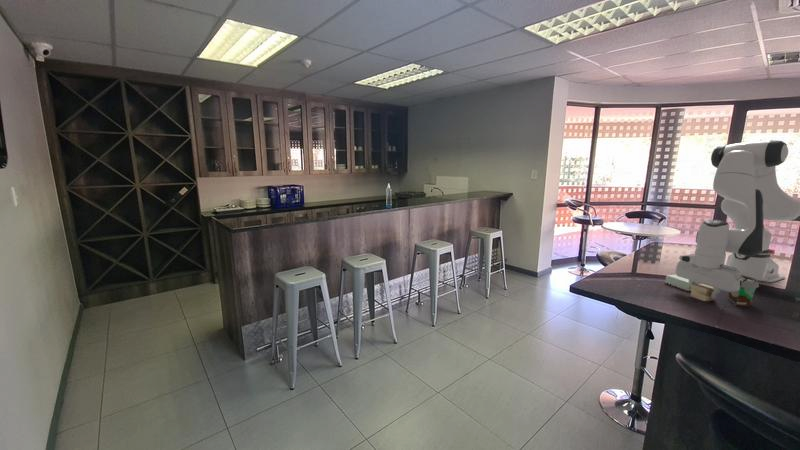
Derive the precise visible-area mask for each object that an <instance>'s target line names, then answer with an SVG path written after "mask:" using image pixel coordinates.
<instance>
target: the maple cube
mask: <svg viewBox="0 0 800 450" xmlns="http://www.w3.org/2000/svg"><path fill="white" fill-rule="evenodd" d="M713 291H715V290H713V287H711V286H708V285H704V284H695V285H692V290H691V291H690V297H691V298H694V299H697V300H700V301H703V302H710V301H715V299H716V298H711V297H709V293H712V292H713Z"/></svg>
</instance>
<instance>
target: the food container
mask: <svg viewBox="0 0 800 450" xmlns="http://www.w3.org/2000/svg"><path fill="white" fill-rule="evenodd" d="M759 282H760V281H759V280H757V279H755V278H752V277H749V276H745V275H741V276H740V288H739V290H738V291H737V292H727V298H728V299H729V300H730V302H731V303H733V305H735V306H736V307H746V308H747V307H750V306H751V304H752V301H753V298H754V295H755V292H756V289H758V288H759V287H760V285H759V284H760V283H759Z"/></svg>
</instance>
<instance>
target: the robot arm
mask: <svg viewBox="0 0 800 450" xmlns="http://www.w3.org/2000/svg"><path fill="white" fill-rule="evenodd" d="M788 155H789V148H788V145H787V143H786V142H784V141H782V140H775V139H773V140H772V139H771V140H757V141H756V140H755V141H754V140H753V141H746V142H738V143H731V144H723V145H718V146H716V148H715V149H713V151H712V153H711V157H710V161H711V162H710V163H711V165H712V166H713V167H714V168H716V172H715V174H714V177H713V184H712V188H713V190H714V192H715V193H716V194H717V195H719V196H720V197H722V198H724V199H723V200H722V201H721V203H720V209H721V212H722V213H724V215H726V216H727V217H728V218H729V219H731V221H732V223H733V224H734V227H735V228H734V227H730V224H729V223H728V222H727V221H724V220H720V219H707V220H704V221H702V222H701V225H700V226H699V229H698V230H697V233H696V237H695V243H696V248H695V250H694V252H693V253H692V254H691V253H690V254H683V255H679V257H678V258H679V259H678V260H679V261H678V263H677V265H676V268H675V275H677V276H679V277H682V278H685V279H688V280H689V284H690V286H691V290H692V285H695V283H696V282H698V283H701V284H705V285H708V286H711V287H713V290H715V291H713V292H712V293H709V297H711V298H715V299H716V298H717V294H719V293H720V292H721V291H724V292H727V293H728V292H737V291H738V290H739V288H740V276H741V275H745V276H749V277H752V278H755V279H757V280H758V282H760V281H761V282H765V283H774V282H777V281H780V280H783V279H786V276H785V275H784V274H780V273H779V270H780V268H779V267H780V266H779V264H778V263H777V262H775V261H774V260H773V259H772V258H771V254H775V253H776V250H775V249H771V248H770V244H771V240H772V233H771V231H770V230H769V229H767V228H766V227H765V225H764V224H765V221H764V220H766V221H774V222H777V221H778V222H779V221H781V222H782V221H783V222H784V221H793V220H795V219H797V218H799V217H800V200H799V199H798V198H795V197H794V196H791V195H790V194H788V193H786V191H784V190H783V189H782V188H781V187H780V186H779V184H778V180H777V174H776V172H777V170H776V166H777V167H778V166H780V165H781V164H783V163H784V162H785V161H786V159H787V158H788ZM727 253H730V254H728V256H727ZM726 257H727V259H726ZM725 262H726V263H725Z"/></svg>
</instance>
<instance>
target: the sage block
mask: <svg viewBox="0 0 800 450" xmlns="http://www.w3.org/2000/svg"><path fill="white" fill-rule="evenodd" d="M667 283H668V284H667ZM665 284H667V285H670V284H671V285H670V286H674V287H675V286H676V287H675V288H678V289H682V290H685V291H687V292H691V286H690V284H689V280H688V279H685V278H682V277H679V276H677V275H676V274H666V276H665ZM695 284H701V283H698V282H696V283H695ZM704 285H705V284H704Z"/></svg>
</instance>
